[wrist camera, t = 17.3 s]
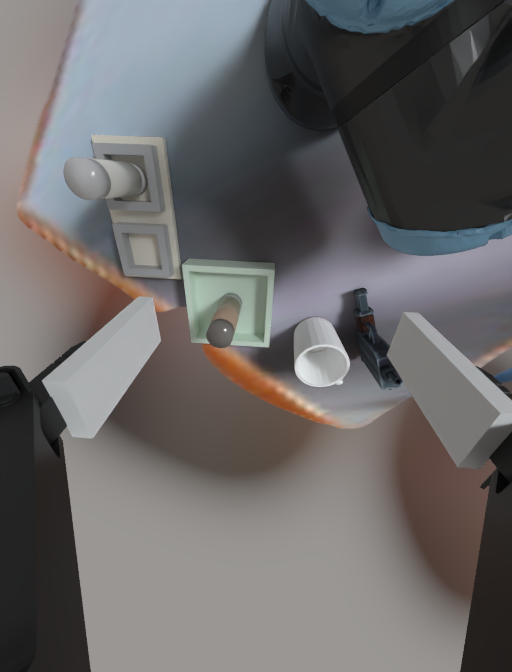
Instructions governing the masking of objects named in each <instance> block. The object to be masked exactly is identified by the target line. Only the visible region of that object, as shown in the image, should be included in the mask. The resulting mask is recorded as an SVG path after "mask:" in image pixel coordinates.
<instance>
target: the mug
mask: <svg viewBox="0 0 512 672" xmlns="http://www.w3.org/2000/svg"><path fill="white" fill-rule="evenodd" d="M294 363H295V372H296V375H297V376H298V378H299V379H300V380H301V381H302V382H304V383H305V384H308V385H310V386H315V387H325V386H330V385H333V384H336V385H341V384H342V383H343V378H344V377H345V375H346V374H347V372H348V370H349V366H350V361H349V357H348V355H347V353H346V351H345V349H344V347H343V345H342V343H341V341H340V339H339V337H338V335H337V333H336V331H335V329H334V327H333V325H332V324H331V323H330V322H329V321H328V320H326V319H324V318H320V317H311V318H307V319H305V320H303V321H301V322H300V323H299V324H298V325H297V327H296V328H295V331H294Z"/></svg>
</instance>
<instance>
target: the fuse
mask: <svg viewBox="0 0 512 672" xmlns="http://www.w3.org/2000/svg"><path fill="white" fill-rule="evenodd" d="M64 178H65V181H66V183H67V185H68V187H69V188H70V190H71V191H72V192H73V193H74V194H75V195H77V196H78V197H80V198H82V199H85V200H94V199H107V198H115V197H123V196H132V195H137V194H142V193H144V192H145V191H146V189H147V187H148V179H147V175H146V173H145V171H144V170H143V169H142V168H141V167H140V166H139V165H137V164H134V163H128V162H121V161H112V160H103V159H93V158H79V157H73V158H70V159H69V160H67V161H66V163H65V165H64Z"/></svg>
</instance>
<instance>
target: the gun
mask: <svg viewBox="0 0 512 672" xmlns="http://www.w3.org/2000/svg"><path fill="white" fill-rule="evenodd" d="M353 291H354V295H355V296H356V301H357V306H358V308H357V309H355V310H354V314H355V315H356V320H357V325H358V333H357V334H356V335H357V340H358V345H359V350H360V355H361V360H362V362H363V361H364V363H365V365H366V366H367V368H368V369H369V371H370V372H371V374H372V375H373V377H374V378H375V380H376V381H377V383H378V384H379V386H380V387H381V389H382V390H386V389H389V390H391V389H392V388H398V387H401V383H402V379H401V377H400V376H399V374H398V372H397V371H396V369H395V368H394V366H393V364H392V363H391V361H390V360H389V358H388V357H387V353H388V351H389V348H390V345H389V344H388V343H387V342H385V341H384V340H383V339H382V338H381V337H380V336H379V335H378V333H377V330H376V327H375V322H374V316H373V313H374V312H373V309H371V308H370V307H368V303H367V298H366V294H367V289H365V288H360V289H356V290H353Z"/></svg>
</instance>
